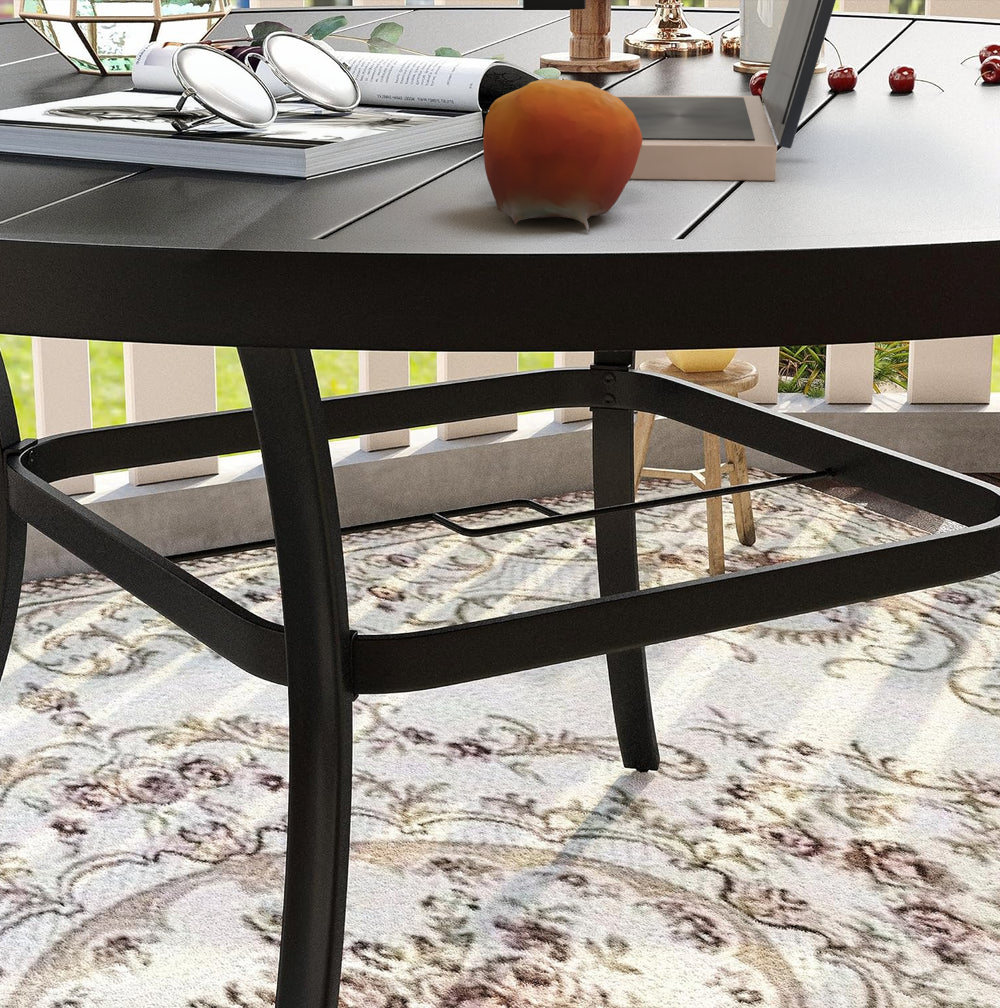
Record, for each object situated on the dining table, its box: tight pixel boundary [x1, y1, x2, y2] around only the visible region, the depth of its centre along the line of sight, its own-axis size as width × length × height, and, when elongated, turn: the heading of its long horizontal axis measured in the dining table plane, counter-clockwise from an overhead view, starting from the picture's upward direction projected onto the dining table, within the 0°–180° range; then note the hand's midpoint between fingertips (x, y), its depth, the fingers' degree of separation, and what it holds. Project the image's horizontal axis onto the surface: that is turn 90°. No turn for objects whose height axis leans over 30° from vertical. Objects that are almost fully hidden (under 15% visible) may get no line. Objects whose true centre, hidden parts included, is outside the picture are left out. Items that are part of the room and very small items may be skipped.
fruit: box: [482, 78, 642, 233], centre depth 71 cm, size 8×8×8 cm
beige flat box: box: [613, 94, 778, 182], centre depth 91 cm, size 15×22×2 cm
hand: (566, 0), depth 68 cm, fingers open, 13 cm apart
